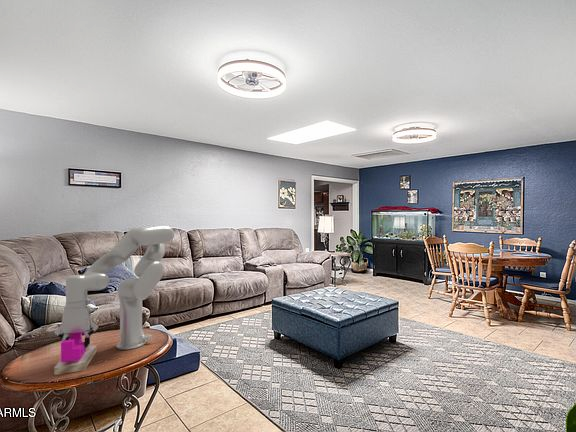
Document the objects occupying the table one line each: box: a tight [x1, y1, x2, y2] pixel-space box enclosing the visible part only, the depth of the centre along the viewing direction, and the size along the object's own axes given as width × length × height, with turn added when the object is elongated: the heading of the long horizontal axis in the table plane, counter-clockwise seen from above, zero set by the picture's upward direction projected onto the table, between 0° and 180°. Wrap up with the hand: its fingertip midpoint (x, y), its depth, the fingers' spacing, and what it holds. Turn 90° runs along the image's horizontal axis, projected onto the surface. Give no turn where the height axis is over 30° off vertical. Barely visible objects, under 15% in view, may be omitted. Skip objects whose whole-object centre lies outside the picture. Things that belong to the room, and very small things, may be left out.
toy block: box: [60, 332, 86, 362], centre depth 130 cm, size 15×6×8 cm, turn 21°
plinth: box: [53, 345, 97, 376], centre depth 131 cm, size 10×19×3 cm, turn 20°
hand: (76, 347), depth 131 cm, fingers closed on toy block, 6 cm apart
